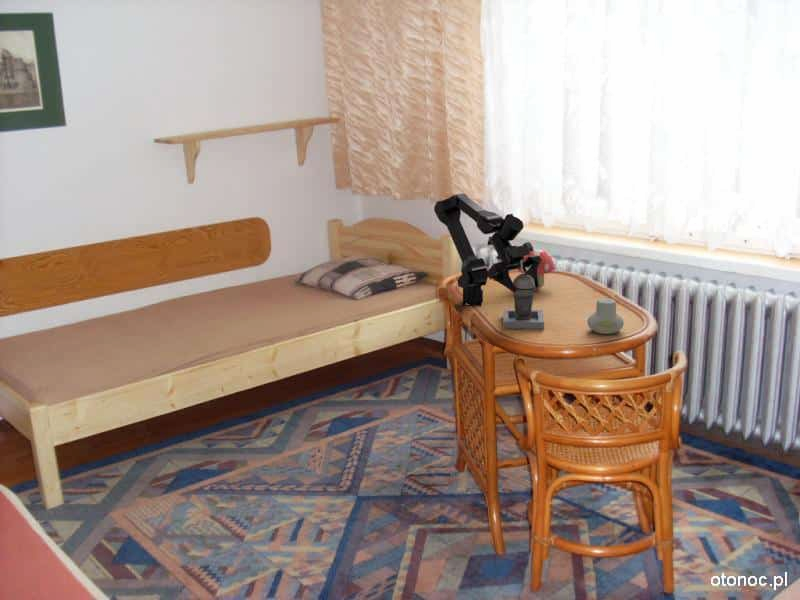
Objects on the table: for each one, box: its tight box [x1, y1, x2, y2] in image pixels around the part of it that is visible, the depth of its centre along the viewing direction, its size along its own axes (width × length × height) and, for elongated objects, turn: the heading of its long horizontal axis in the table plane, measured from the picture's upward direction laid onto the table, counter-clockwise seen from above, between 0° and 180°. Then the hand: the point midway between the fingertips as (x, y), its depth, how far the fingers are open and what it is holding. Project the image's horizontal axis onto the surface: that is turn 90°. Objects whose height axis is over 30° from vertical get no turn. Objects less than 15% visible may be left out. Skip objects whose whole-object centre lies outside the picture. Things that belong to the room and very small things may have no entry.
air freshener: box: [586, 297, 625, 335], centre depth 271 cm, size 11×8×10 cm
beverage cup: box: [512, 260, 536, 320], centre depth 279 cm, size 7×7×20 cm
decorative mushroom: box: [516, 248, 555, 291], centre depth 315 cm, size 13×13×15 cm
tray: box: [502, 309, 545, 331], centre depth 282 cm, size 13×13×2 cm
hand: (526, 289), depth 278 cm, fingers open, 9 cm apart
